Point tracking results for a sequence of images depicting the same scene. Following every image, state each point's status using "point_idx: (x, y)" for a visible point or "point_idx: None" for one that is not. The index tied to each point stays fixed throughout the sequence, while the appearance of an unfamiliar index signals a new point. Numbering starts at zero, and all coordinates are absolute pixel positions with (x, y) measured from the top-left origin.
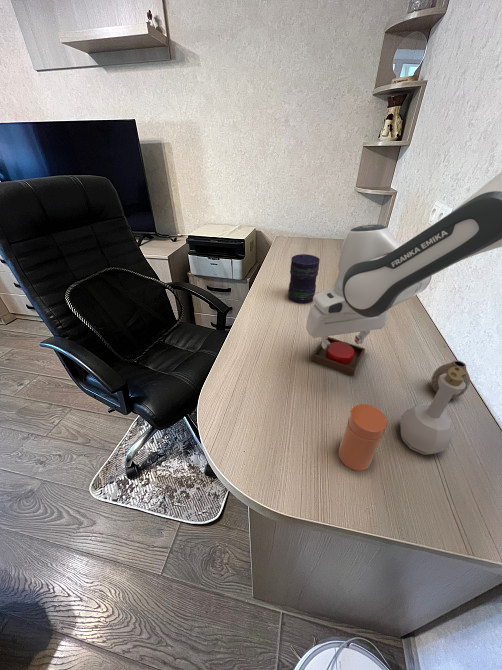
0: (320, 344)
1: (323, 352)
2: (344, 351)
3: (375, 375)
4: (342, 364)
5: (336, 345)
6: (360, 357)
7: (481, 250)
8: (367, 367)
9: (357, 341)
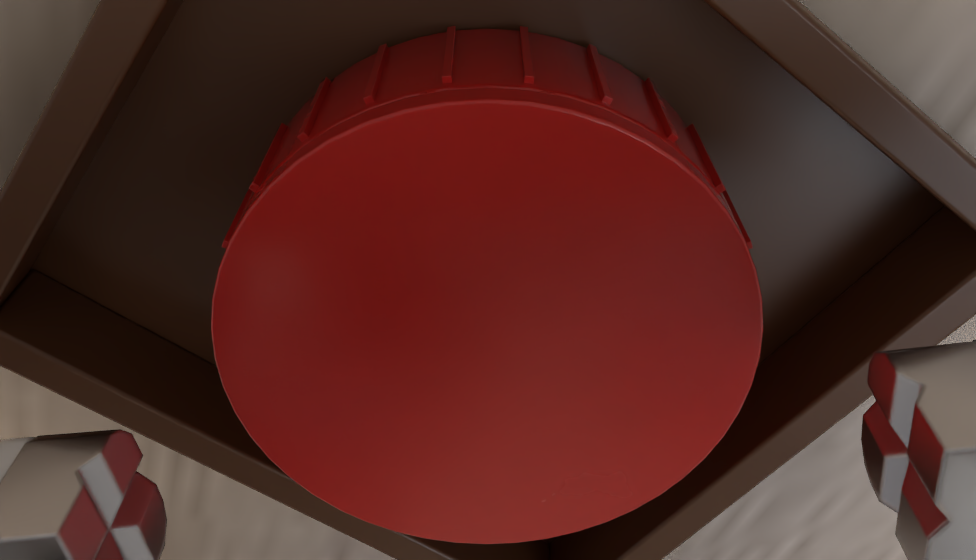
0: (107, 24)
1: (217, 116)
2: (538, 415)
3: (842, 547)
4: (421, 554)
5: (440, 229)
6: (794, 446)
7: None
8: (837, 431)
9: (890, 472)
